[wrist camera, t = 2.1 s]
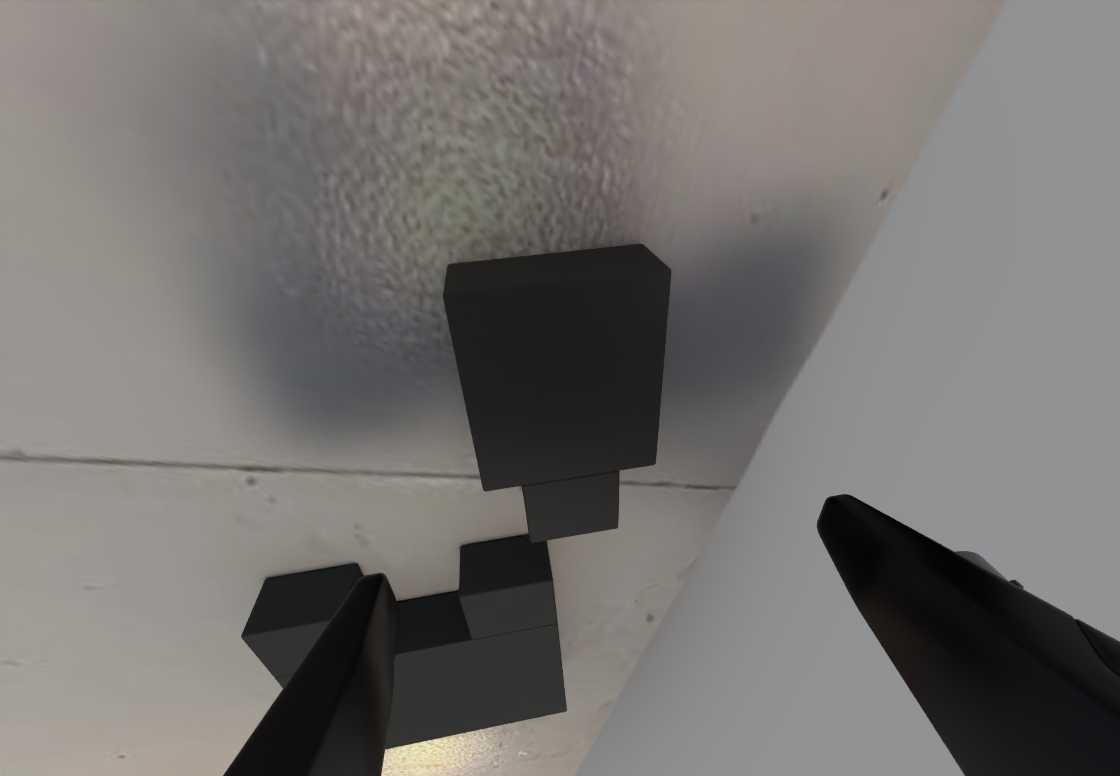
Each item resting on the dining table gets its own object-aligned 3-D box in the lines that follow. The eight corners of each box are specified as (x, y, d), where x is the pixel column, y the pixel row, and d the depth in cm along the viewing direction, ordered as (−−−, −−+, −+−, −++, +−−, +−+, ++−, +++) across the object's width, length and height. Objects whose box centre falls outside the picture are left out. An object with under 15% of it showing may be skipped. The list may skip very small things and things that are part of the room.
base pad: (544, 531, 20) (553, 581, 18) (559, 664, 27) (567, 711, 25) (264, 578, 19) (239, 637, 17) (351, 705, 26) (341, 759, 24)
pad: (643, 243, 14) (672, 268, 12) (632, 477, 20) (651, 523, 17) (446, 263, 13) (441, 294, 11) (492, 500, 19) (495, 550, 17)
